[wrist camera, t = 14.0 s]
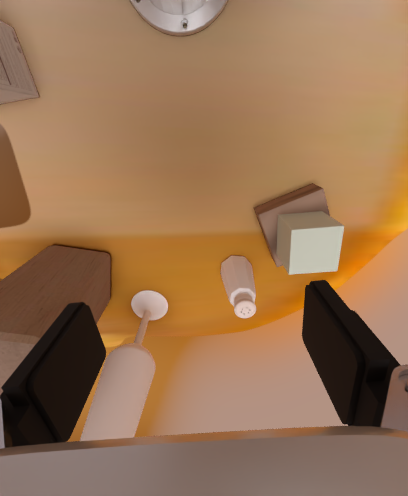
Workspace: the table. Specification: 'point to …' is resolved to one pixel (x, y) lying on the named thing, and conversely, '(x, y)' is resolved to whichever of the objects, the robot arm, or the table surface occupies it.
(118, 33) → the table surface
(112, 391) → the champagne flute
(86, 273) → the block
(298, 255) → the sage block
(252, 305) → the pepper shaker
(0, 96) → the supplement box
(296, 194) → the walnut block
